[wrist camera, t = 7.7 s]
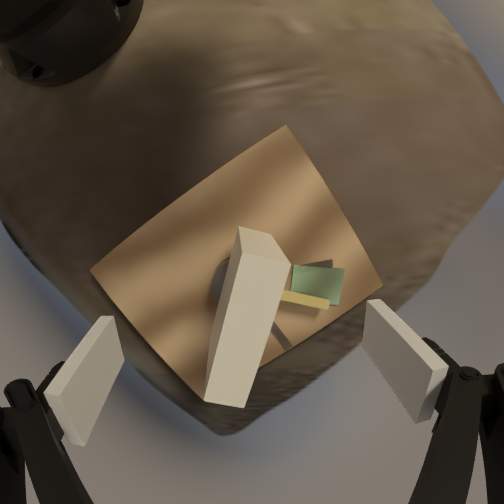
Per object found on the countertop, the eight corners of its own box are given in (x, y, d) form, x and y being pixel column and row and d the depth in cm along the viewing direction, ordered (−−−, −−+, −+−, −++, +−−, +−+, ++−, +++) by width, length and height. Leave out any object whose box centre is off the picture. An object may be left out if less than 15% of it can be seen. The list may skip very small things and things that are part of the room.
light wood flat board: (95, 265, 26) (88, 270, 24) (282, 127, 24) (286, 124, 23) (203, 390, 30) (202, 400, 28) (376, 279, 28) (384, 285, 26)
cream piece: (202, 323, 26) (189, 397, 17) (227, 219, 24) (225, 248, 15) (307, 344, 28) (340, 418, 18) (340, 249, 26) (398, 290, 16)
